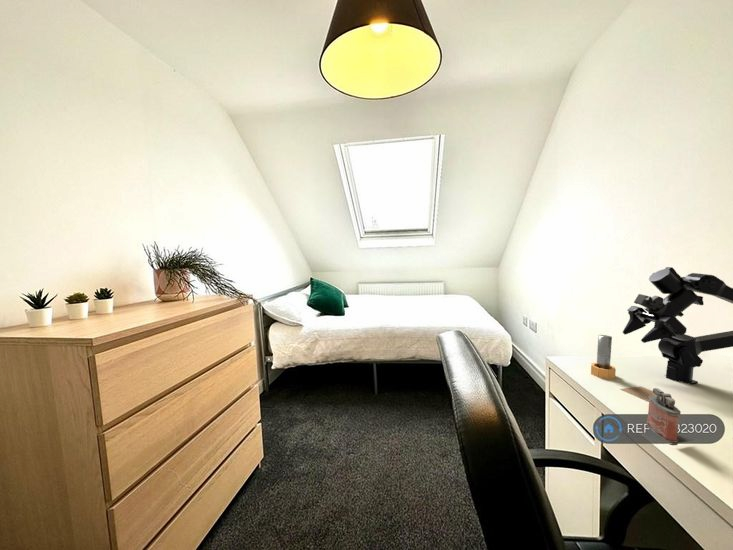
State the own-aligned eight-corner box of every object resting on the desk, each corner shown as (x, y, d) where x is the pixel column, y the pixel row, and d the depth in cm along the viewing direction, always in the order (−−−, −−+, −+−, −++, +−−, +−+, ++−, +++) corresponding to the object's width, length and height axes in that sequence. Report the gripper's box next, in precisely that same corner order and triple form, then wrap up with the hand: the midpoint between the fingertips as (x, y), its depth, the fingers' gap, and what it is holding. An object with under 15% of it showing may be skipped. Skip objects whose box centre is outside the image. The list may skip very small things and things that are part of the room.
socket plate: (601, 370, 114) (601, 360, 114) (626, 381, 106) (627, 370, 105) (579, 372, 112) (580, 362, 112) (603, 383, 104) (604, 372, 103)
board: (640, 388, 100) (641, 386, 100) (670, 401, 92) (670, 398, 92) (619, 391, 98) (619, 389, 98) (647, 404, 90) (647, 401, 90)
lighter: (682, 446, 72) (686, 402, 71) (664, 444, 73) (668, 400, 72) (658, 426, 80) (661, 386, 79) (641, 424, 80) (645, 385, 79)
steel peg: (607, 373, 110) (610, 335, 109) (610, 377, 107) (613, 338, 106) (594, 372, 111) (597, 334, 110) (597, 376, 108) (599, 337, 107)
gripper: (635, 282, 113) (598, 313, 116) (678, 290, 95) (633, 326, 98) (659, 305, 113) (621, 336, 116) (707, 318, 95) (660, 353, 97)
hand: (632, 337), depth 107 cm, fingers open, 9 cm apart
